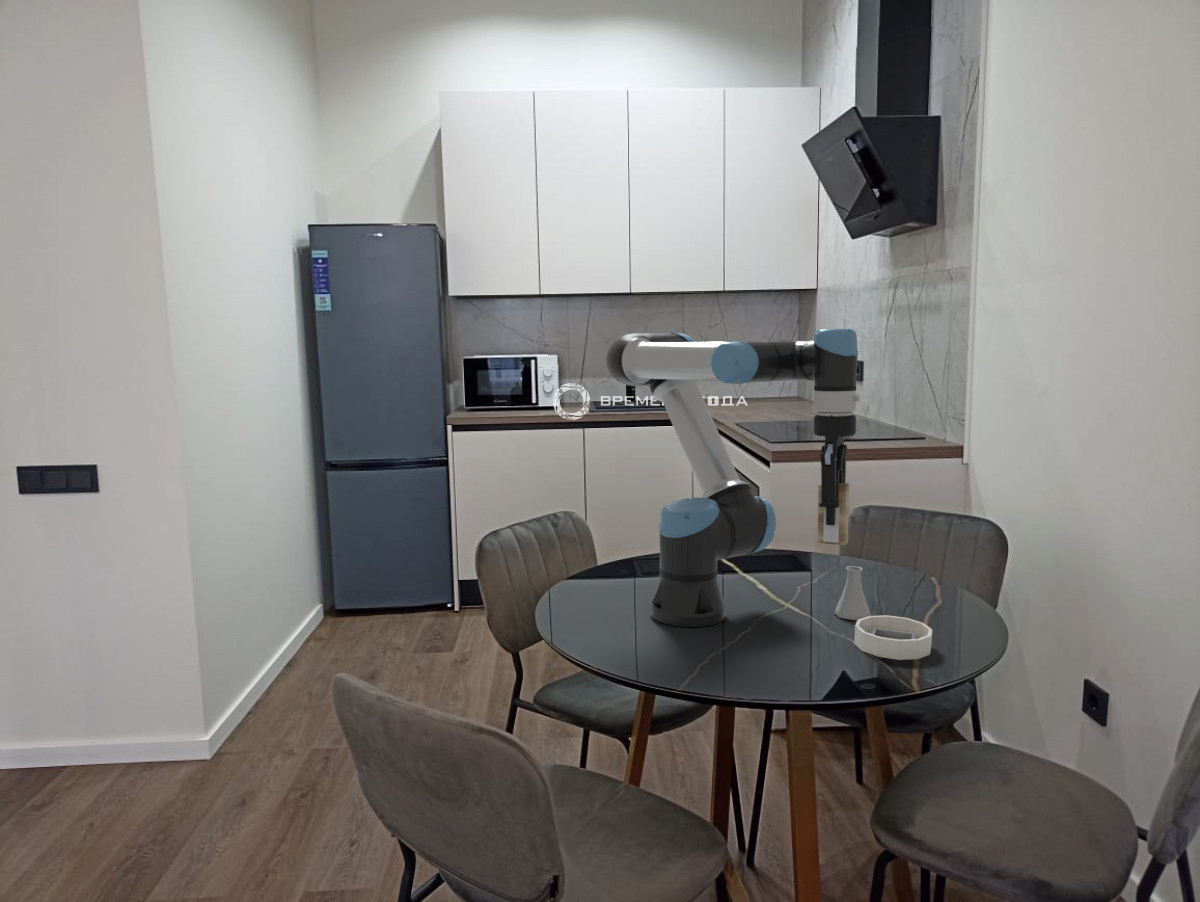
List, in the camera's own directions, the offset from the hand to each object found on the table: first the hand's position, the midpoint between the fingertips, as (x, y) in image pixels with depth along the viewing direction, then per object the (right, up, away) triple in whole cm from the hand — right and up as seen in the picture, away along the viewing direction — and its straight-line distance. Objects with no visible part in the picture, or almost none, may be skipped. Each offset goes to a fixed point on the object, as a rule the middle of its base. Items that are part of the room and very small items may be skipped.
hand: (833, 539), depth 162 cm
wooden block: (0, -1, 0) cm, 1 cm away
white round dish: (+11, -20, -1) cm, 22 cm away
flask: (+8, -17, +15) cm, 25 cm away
